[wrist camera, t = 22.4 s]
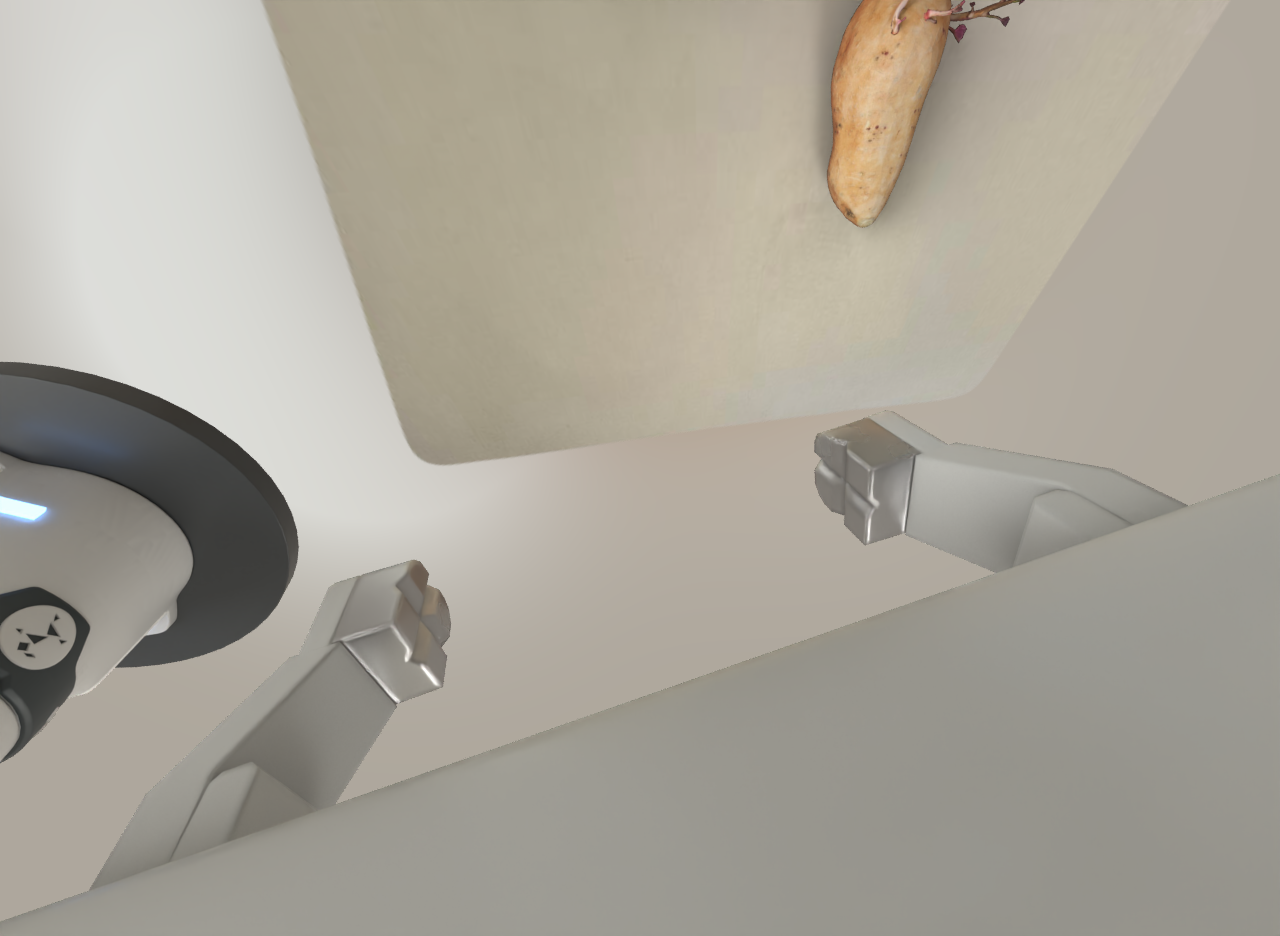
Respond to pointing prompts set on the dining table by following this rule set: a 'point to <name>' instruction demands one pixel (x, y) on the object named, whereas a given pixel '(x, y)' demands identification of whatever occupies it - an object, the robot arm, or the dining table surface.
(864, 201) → the vegetable
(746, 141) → the dining table surface
